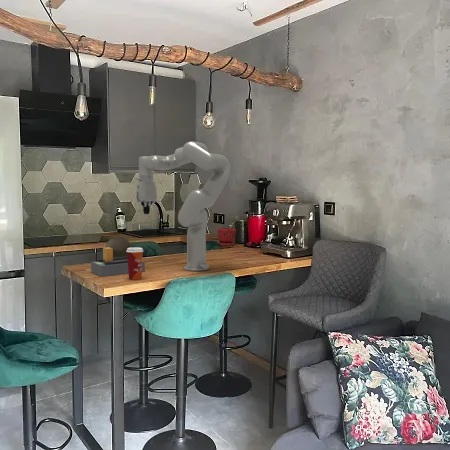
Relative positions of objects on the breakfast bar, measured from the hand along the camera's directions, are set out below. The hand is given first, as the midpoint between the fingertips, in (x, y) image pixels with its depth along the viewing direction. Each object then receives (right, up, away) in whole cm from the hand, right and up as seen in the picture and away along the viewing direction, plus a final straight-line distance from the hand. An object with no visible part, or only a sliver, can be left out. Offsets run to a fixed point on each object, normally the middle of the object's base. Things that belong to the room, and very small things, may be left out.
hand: (146, 213), depth 247 cm
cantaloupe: (-14, -28, -2) cm, 31 cm away
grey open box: (-10, -29, -21) cm, 37 cm away
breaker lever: (-15, -25, -24) cm, 38 cm away
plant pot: (+43, -21, +82) cm, 95 cm away
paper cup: (+1, -31, -37) cm, 48 cm away
